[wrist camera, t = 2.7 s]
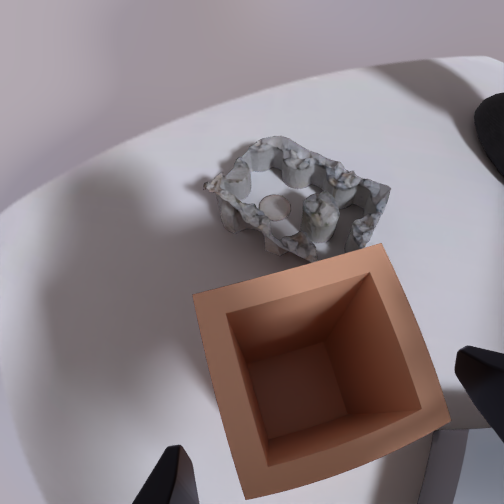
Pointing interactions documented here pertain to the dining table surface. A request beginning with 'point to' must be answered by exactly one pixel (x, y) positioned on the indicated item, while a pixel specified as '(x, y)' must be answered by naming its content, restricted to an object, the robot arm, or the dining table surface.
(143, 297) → the dining table surface
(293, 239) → the grey jagged ring
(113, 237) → the dining table surface
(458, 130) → the dining table surface
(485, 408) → the robot arm
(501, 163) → the candelabra
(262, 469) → the orange square container
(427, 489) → the grey square tray
